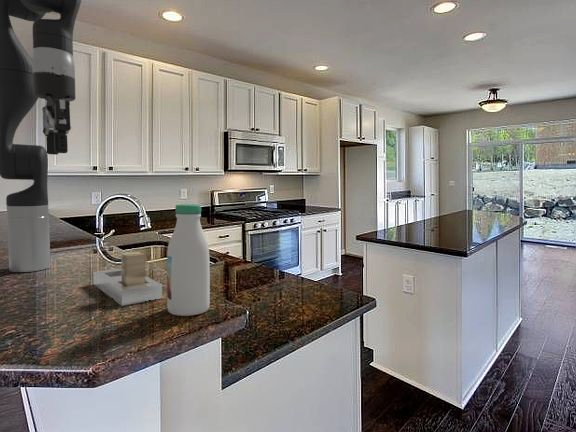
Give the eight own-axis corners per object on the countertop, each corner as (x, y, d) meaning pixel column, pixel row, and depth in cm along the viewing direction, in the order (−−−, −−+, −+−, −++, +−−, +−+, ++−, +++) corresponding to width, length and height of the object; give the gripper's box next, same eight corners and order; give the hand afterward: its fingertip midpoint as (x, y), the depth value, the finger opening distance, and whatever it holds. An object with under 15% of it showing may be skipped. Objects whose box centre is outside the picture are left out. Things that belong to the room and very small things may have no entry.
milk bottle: (217, 306, 74) (217, 204, 72) (194, 319, 66) (194, 206, 65) (183, 301, 76) (182, 203, 74) (158, 313, 69) (157, 204, 67)
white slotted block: (93, 284, 88) (93, 271, 87) (129, 279, 93) (128, 267, 93) (121, 306, 73) (121, 290, 72) (162, 298, 78) (161, 284, 78)
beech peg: (121, 296, 79) (121, 253, 78) (139, 293, 82) (138, 252, 81) (128, 300, 77) (127, 256, 76) (145, 296, 79) (145, 254, 78)
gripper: (27, 78, 81) (30, 153, 83) (38, 63, 71) (42, 151, 72) (67, 84, 86) (69, 155, 88) (83, 72, 76) (85, 153, 77)
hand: (56, 153), depth 80 cm, fingers open, 8 cm apart
